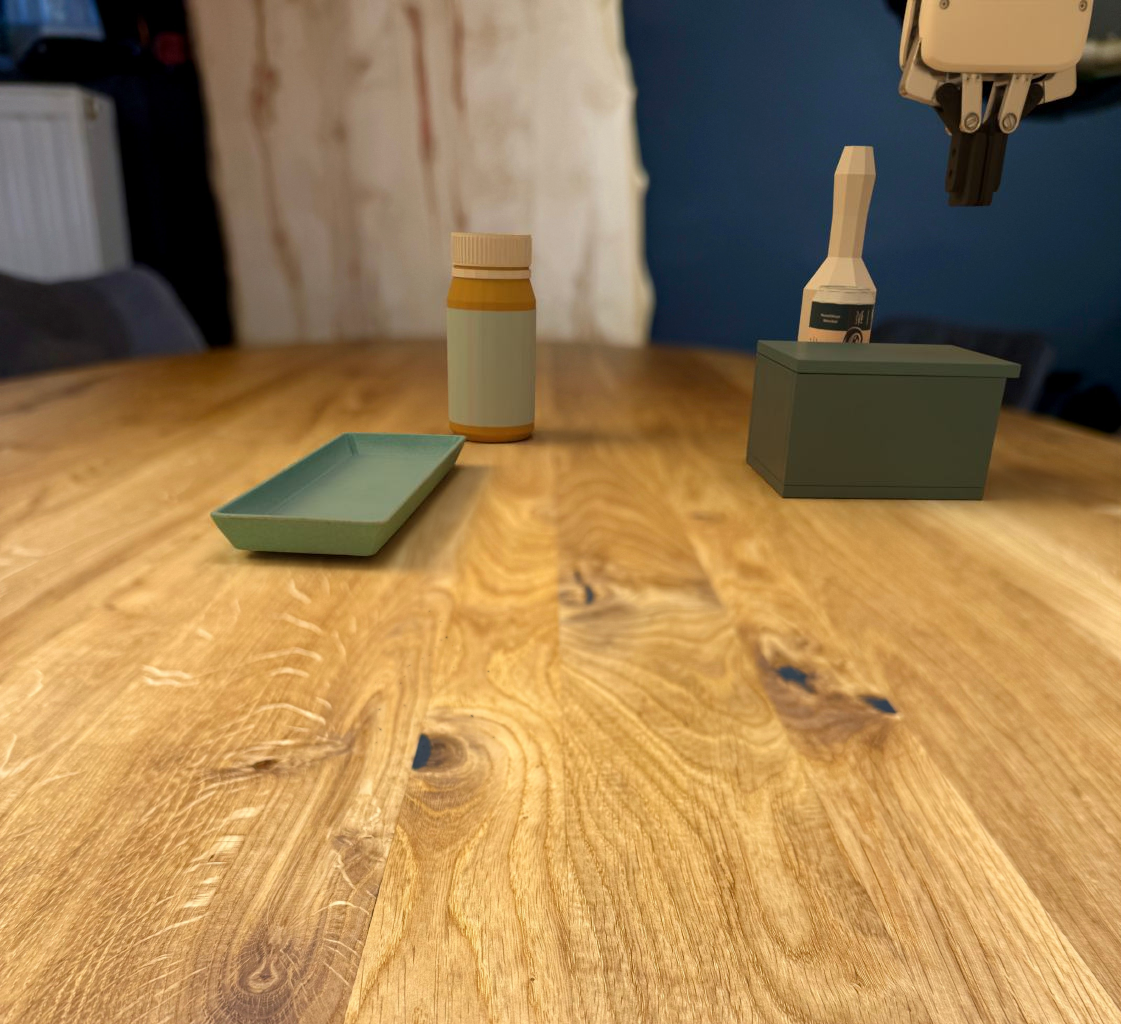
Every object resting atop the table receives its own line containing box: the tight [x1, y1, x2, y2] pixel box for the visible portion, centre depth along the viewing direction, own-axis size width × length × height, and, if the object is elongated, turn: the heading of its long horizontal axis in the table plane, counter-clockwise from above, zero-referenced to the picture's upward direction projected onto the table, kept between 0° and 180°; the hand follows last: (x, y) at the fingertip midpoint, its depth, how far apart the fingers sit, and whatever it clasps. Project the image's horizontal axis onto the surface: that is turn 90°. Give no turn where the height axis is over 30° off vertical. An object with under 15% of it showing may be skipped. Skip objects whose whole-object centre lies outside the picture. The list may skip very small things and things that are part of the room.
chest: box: [745, 352, 1007, 501], centre depth 75 cm, size 14×12×8 cm
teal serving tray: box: [209, 431, 467, 557], centre depth 66 cm, size 26×9×2 cm, turn 175°
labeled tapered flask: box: [797, 145, 877, 341], centre depth 92 cm, size 6×6×22 cm
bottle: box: [445, 231, 537, 443], centre depth 85 cm, size 7×7×15 cm
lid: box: [756, 339, 1022, 379], centre depth 73 cm, size 14×12×1 cm
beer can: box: [807, 285, 876, 343], centre depth 84 cm, size 5×5×12 cm
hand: (969, 205), depth 69 cm, fingers closed
